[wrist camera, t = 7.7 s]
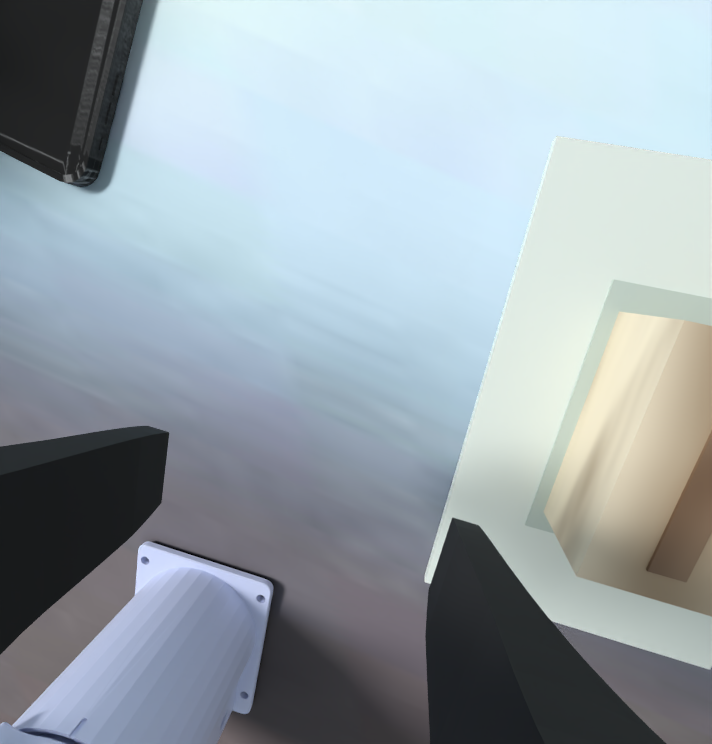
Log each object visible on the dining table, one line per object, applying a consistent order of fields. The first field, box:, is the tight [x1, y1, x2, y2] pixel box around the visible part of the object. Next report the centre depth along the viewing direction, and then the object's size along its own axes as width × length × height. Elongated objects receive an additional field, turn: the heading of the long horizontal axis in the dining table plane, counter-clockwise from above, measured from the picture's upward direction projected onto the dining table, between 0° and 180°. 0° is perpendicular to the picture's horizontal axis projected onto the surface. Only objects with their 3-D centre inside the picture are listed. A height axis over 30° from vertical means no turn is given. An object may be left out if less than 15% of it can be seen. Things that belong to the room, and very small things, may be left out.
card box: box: [544, 311, 712, 617], centre depth 14 cm, size 5×9×4 cm, turn 168°
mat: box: [425, 136, 712, 670], centre depth 16 cm, size 20×13×1 cm, turn 168°
